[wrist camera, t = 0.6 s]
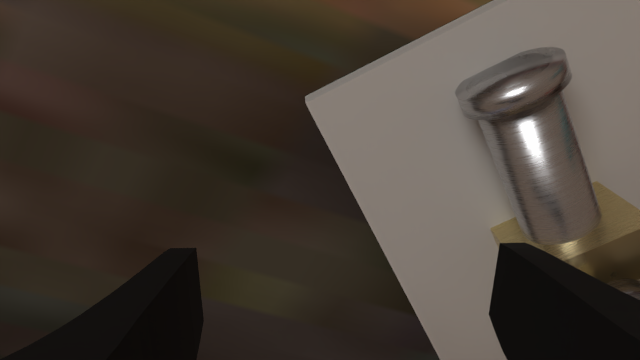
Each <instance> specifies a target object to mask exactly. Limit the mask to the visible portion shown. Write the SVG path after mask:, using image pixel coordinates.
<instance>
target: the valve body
mask: <svg viewBox="0 0 640 360" xmlns="http://www.w3.org/2000/svg"><path fill="white" fill-rule="evenodd" d="M571 79H572V73H571V70H570V66H569V63H568V60H567V56H566V53H565V51H564V50H563V49H561V48H557V47H543V48H536V49H531V50H527V51H523V52H520V53H518V54H516V55H514V56H512V57H510V58H508V59H506V60H504V61H502V62H500V63H498V64H496V65H494V66H492V67H490V68H488V69H485V70H483V71H481V72H479V73H477V74H475V75H473V76H471V77H469V78H467V79H465V80H463V81H462V82H461V83H460V84H459V86H458V87H457V88H456V91H455V94H456V97H457V99H458V102H459V104H460V107H461V109H462V112H463V114H464V116H465V117H467V118H469V119H473V120H478V122H479V124H480V127H481V129H482V132H483V134H484V137H485V140H486V142H487V145H488V147H489V150H490V152H491V155H492V158H493V160H494V163H495V165H496V168H497V170H498V173H499V175H500V178H501V181H502V183H503V186H504V188H505V191H506V193H507V196H508V198H509V201H510V204H511V206H512V209H513V211H514V214H515V216H516V217H514V218H512V219H510V220H508V221H505V222H503V223H501V224H499V225H496V226H494V227H492V228H490V230H491V232H492V234H493V237H494V239H495V242H496V244H497V246H498V249H499V244H500V243H527V244H530V245H532V246H535V247H537V248H539V249H541V250H543V251H545V252H547V253H549V254H551V255H553V256H555V257H557V258H559V259H561V260H562V261H564V262H566V263H568V264H570V265H572V266H574V267H576V268H577V269H579V270H581V271H583V272H585V273H587V274H589V275H591V276H593V277H594V278H596V279H598V280H600V281H602V282H604V283H608V282H610V281H613V280H617V279H625V278H628V279H635V280H638V279H640V210H639V209H638V208H636V207H635V206H633V205H632V204H630V203H629V202H627V201H626V200H624V199H623V198H621V197H620V196H618V195H617V194H615V193H614V192H612V191H611V190H609V189H608V188H606V187H605V186H603V185H602V184H600V183H599V182H597V181H595V182H593V183H592V181H591V178H590V175H589V172H588V168H587V165H586V162H585V159H584V156H583V152H582V149H581V146H580V143H579V140H578V137H577V133H576V130H575V127H574V124H573V121H572V117H571V114H570V111H569V108H568V105H567V101H566V98H565V95H564V92H563V89H564V88H565V87H566V86H567V85H568V84H569V83H570V81H571Z"/></svg>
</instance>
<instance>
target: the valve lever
mask: <svg viewBox="0 0 640 360" xmlns="http://www.w3.org/2000/svg"><path fill="white" fill-rule="evenodd" d="M606 284H608V285H610V286H612V287H614V288H616V289H618V290H620V291H622V292H624V293H626V294H628V295H630V296H632V297H635V298H637V299H639V300H640V279H638V280H635V279H628V278H625V279H617V280H613V281H610V282H608V283H606Z"/></svg>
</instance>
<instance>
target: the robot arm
mask: <svg viewBox="0 0 640 360" xmlns="http://www.w3.org/2000/svg"><path fill="white" fill-rule="evenodd" d="M489 317H490V319H491V322H492V325H493V328H494V331H495V333H496V336H497V338H498V341H499V343H500V346H501V348H502V351H503V353H504V355H505V357H506V358H507V360H640V300H639V299H637V298H635V297H632V296H630V295H628V294H626V293H624V292H622V291H620V290H618V289H616V288H614V287H612V286H610V285H608V284H606V283H604V282H602V281H600V280H598V279H596V278H594V277H593V276H591V275H589V274H587V273H585V272H583V271H581V270H579V269H577V268H576V267H574V266H572V265H570V264H568V263H566V262H564V261H562V260H561V259H559V258H557V257H555V256H553V255H551V254H549V253H547V252H545V251H543V250H541V249H539V248H537V247H535V246H532V245H530V244H527V243H500V244H499V251H498V257H497V263H496V270H495V276H494V283H493V289H492V296H491V302H490V309H489ZM203 321H204V320H203V310H202V300H201V291H200V281H199V271H198V262H197V252H196V248H170V249H168V250H167V251H165V252H164V253H163V254H161V255H160V256H159V257H157V258H156V259H155V260H154V261H152V262H151V263H150V264H149V265H147V266H146V267H145V268H144V269H142V270H141V271H140V272H139V273H137V274H136V275H135V276H133V277H132V278H131V279H129V280H128V281H127V282H126V283H124V284H123V285H122V286H120V287H119V288H118V289H117V290H115V291H114V292H112V293H111V294H110V295H108V296H107V297H105V298H104V299H102V300H101V301H100V302H98V303H97V304H95V305H94V306H92V307H91V308H90V309H88V310H87V311H85V312H84V313H82V314H81V315H79V316H78V317H76V318H75V319H73V320H72V321H70V322H68V323H67V324H65V325H64V326H62V327H60V328H59V329H57V330H55V331H53V332H52V333H50V334H48V335H46V336H45V337H43V338H41V339H40V340H38V341H36V342H34V343H32V344H30V345H29V346H27V347H25V348H23V349H21V350H19V351H17V352H14V353H12V354H10V355H8V356H6V357H4V358H2V359H0V360H196V359H197V354H198V349H199V343H200V338H201V332H202V327H203Z"/></svg>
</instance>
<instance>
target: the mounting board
mask: <svg viewBox="0 0 640 360" xmlns="http://www.w3.org/2000/svg"><path fill="white" fill-rule="evenodd" d="M543 47H557V48H561V49H563V50H564V51H565V53H566V56H567V60H568V63H569V66H570V70H571V73H572V79H571V81H570V83H569V84H568V85H567V86H566V87H565V88H564V89H563V92H564V95H565V98H566V101H567V105H568V108H569V111H570V114H571V117H572V121H573V124H574V127H575V130H576V133H577V137H578V140H579V143H580V146H581V149H582V152H583V156H584V159H585V162H586V165H587V168H588V172H589V175H590V178H591V181H592V183H593V182H595V181H597V182H599V183H600V184H602V185H603V186H605V187H606V188H608V189H609V190H611V191H612V192H614V193H615V194H617V195H618V196H620V197H621V198H623V199H624V200H626V201H627V202H629V203H630V204H632V205H633V206H635V207H636V208H638V209H639V210H640V0H493V1H491V2H489V3H487V4H485V5H483V6H481V7H479V8H477V9H475V10H473V11H471V12H470V13H468V14H466V15H464V16H462V17H460V18H458V19H456V20H454V21H452V22H450V23H448V24H446V25H444V26H442V27H440V28H438V29H436V30H434V31H432V32H430V33H428V34H426V35H424V36H423V37H421V38H419V39H417V40H415V41H413V42H411V43H409V44H407V45H405V46H403V47H401V48H399V49H397V50H395V51H393V52H391V53H389V54H387V55H385V56H383V57H381V58H379V59H377V60H376V61H374V62H372V63H370V64H368V65H366V66H364V67H362V68H360V69H358V70H356V71H354V72H352V73H350V74H348V75H346V76H344V77H342V78H340V79H338V80H336V81H334V82H332V83H331V84H329V85H327V86H325V87H323V88H321V89H319V90H317V91H315V92H313V93H311V94H309V95H307V96H305V103H306V105H307V107H308V109H309V111H310V113H311V114H312V116H313V118H314V120H315V122H316V124H317V126H318V128H319V130H320V132H321V134H322V135H323V137H324V139H325V141H326V143H327V145H328V147H329V149H330V151H331V153H332V154H333V156H334V158H335V160H336V162H337V164H338V166H339V168H340V170H341V172H342V174H343V175H344V177H345V179H346V181H347V183H348V185H349V187H350V189H351V191H352V193H353V194H354V196H355V198H356V200H357V202H358V204H359V206H360V208H361V210H362V212H363V214H364V215H365V217H366V219H367V221H368V223H369V225H370V227H371V229H372V231H373V233H374V234H375V236H376V238H377V240H378V242H379V244H380V246H381V248H382V250H383V252H384V254H385V255H386V257H387V259H388V261H389V263H390V265H391V267H392V269H393V271H394V273H395V274H396V276H397V278H398V280H399V282H400V284H401V286H402V288H403V290H404V292H405V294H406V295H407V297H408V299H409V301H410V303H411V305H412V307H413V309H414V311H415V313H416V314H417V316H418V318H419V320H420V322H421V324H422V326H423V328H424V330H425V332H426V334H427V335H428V337H429V339H430V341H431V343H432V345H433V347H434V349H435V351H436V353H437V354H438V356H439V358H440V360H507V358H506V357H505V355H504V353H503V351H502V348H501V346H500V343H499V341H498V338H497V336H496V333H495V331H494V328H493V325H492V322H491V319H490V317H489V309H490V302H491V296H492V289H493V283H494V276H495V270H496V263H497V257H498V251H499V249H498V246H497V244H496V242H495V239H494V237H493V234H492V232H491V230H490V228H492V227H494V226H496V225H499V224H501V223H503V222H505V221H508V220H510V219H512V218H514V217H516V216H515V214H514V211H513V209H512V206H511V204H510V201H509V198H508V196H507V193H506V191H505V188H504V186H503V183H502V181H501V178H500V175H499V173H498V170H497V168H496V165H495V163H494V160H493V158H492V155H491V152H490V150H489V147H488V145H487V142H486V140H485V137H484V134H483V132H482V129H481V127H480V124H479V122H478V120H473V119H469V118H467V117H465V116H464V114H463V112H462V109H461V107H460V104H459V102H458V99H457V97H456V94H455V91H456V88H457V87H458V86H459V84H460V83H461V82H462V81H463V80H465V79H467V78H469V77H471V76H473V75H475V74H477V73H479V72H481V71H483V70H485V69H488V68H490V67H492V66H494V65H496V64H498V63H500V62H502V61H504V60H506V59H508V58H510V57H512V56H514V55H516V54H518V53H520V52H523V51H527V50H531V49H536V48H543Z"/></svg>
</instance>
